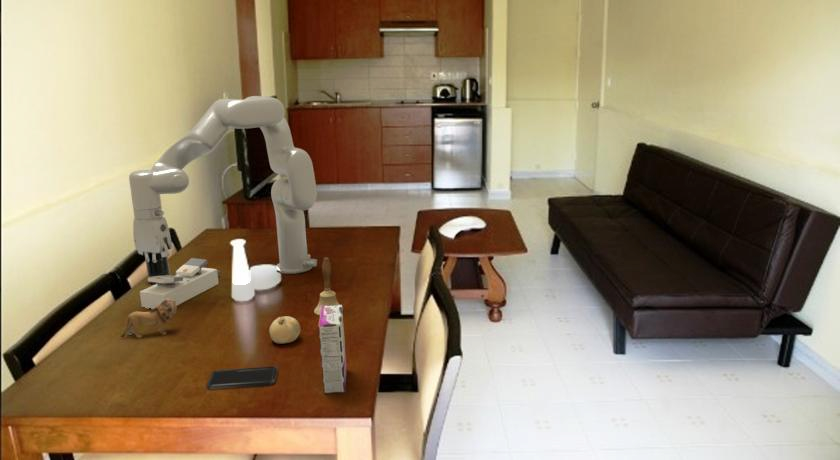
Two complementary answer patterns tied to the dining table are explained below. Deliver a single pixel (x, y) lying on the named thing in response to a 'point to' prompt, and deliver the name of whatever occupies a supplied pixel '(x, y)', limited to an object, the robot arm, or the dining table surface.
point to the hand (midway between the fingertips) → (156, 274)
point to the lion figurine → (151, 317)
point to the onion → (284, 330)
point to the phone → (242, 378)
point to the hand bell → (326, 289)
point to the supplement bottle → (164, 268)
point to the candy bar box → (332, 348)
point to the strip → (180, 288)
